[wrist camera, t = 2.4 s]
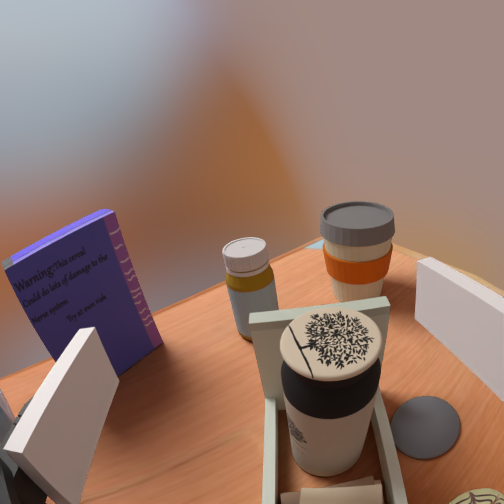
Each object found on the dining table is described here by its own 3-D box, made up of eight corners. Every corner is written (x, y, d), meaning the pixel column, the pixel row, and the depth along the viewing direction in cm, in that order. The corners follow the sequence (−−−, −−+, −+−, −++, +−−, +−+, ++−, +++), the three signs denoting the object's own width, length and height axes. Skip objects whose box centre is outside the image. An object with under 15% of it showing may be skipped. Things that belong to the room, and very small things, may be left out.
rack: (401, 519, 19) (456, 466, 12) (264, 538, 20) (233, 503, 14) (372, 388, 36) (385, 296, 29) (268, 401, 37) (249, 313, 30)
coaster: (376, 443, 28) (377, 441, 28) (408, 389, 34) (408, 387, 34) (442, 469, 22) (444, 467, 22) (467, 410, 28) (468, 407, 28)
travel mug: (352, 413, 33) (364, 296, 25) (369, 467, 26) (403, 363, 18) (288, 427, 33) (270, 314, 25) (297, 483, 26) (284, 391, 18)
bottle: (245, 314, 54) (228, 236, 48) (284, 315, 52) (273, 235, 46) (233, 341, 49) (211, 259, 42) (276, 344, 47) (262, 259, 40)
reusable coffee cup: (381, 269, 59) (383, 198, 53) (398, 307, 48) (406, 225, 42) (320, 275, 61) (315, 204, 55) (326, 316, 50) (323, 233, 44)
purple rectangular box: (148, 332, 53) (101, 207, 43) (163, 342, 50) (114, 210, 40) (73, 386, 42) (0, 260, 31) (84, 401, 39) (3, 268, 28)
